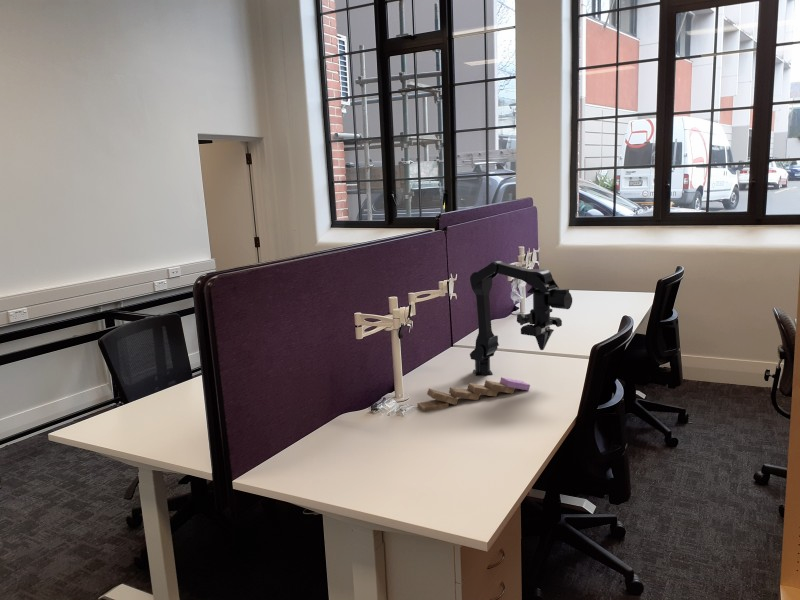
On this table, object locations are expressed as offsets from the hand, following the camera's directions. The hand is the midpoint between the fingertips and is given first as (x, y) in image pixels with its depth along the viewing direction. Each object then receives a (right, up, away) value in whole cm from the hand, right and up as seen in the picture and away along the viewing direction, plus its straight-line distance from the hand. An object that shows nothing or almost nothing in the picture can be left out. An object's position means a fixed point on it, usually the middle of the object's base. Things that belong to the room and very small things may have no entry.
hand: (541, 349), depth 215 cm
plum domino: (-6, -13, 0) cm, 14 cm away
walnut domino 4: (-18, -14, -5) cm, 23 cm away
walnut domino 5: (-12, -13, -3) cm, 18 cm away
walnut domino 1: (-35, -17, -12) cm, 41 cm away
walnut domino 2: (-32, -16, -11) cm, 37 cm away
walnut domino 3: (-24, -15, -7) cm, 29 cm away
